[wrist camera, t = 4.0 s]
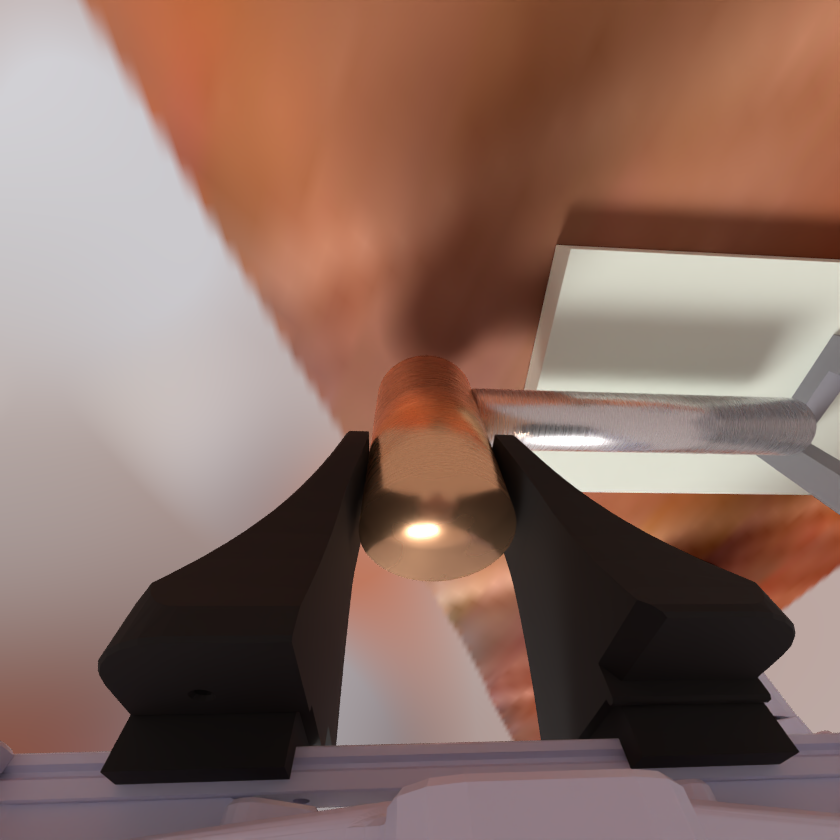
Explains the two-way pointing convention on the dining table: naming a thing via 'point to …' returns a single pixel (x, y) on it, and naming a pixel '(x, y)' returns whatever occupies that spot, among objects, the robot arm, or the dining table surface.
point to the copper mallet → (540, 431)
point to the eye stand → (695, 358)
